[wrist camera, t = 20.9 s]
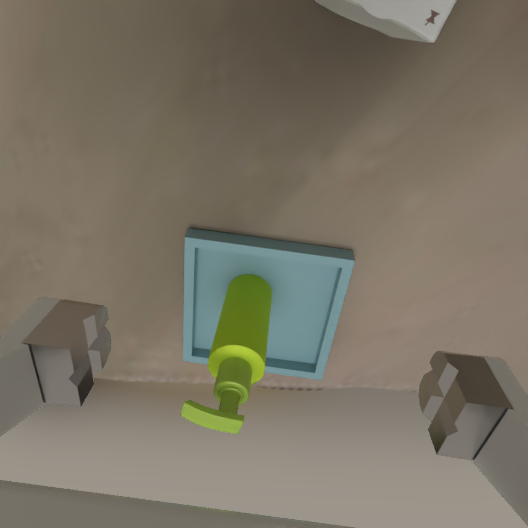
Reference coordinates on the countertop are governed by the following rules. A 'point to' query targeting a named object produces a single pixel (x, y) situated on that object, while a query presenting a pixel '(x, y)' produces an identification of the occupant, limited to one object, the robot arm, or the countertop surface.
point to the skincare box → (396, 16)
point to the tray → (283, 296)
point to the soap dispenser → (236, 353)
